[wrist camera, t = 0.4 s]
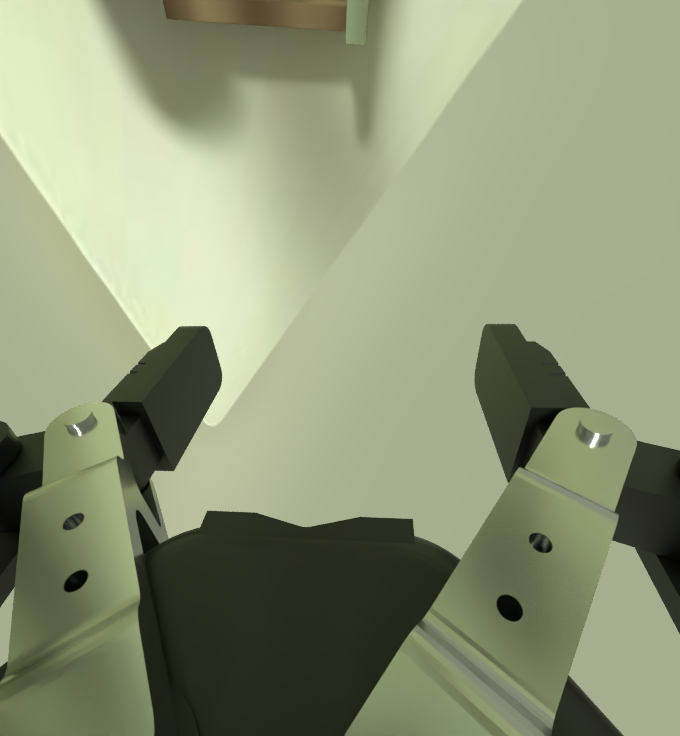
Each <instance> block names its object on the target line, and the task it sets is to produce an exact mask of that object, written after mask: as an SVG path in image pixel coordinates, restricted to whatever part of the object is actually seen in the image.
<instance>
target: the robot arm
mask: <svg viewBox="0 0 680 736" xmlns="http://www.w3.org/2000/svg"><path fill="white" fill-rule="evenodd" d="M221 382H222V372H221V367H220V363H219V360H218V357H217V353H216V350H215V346H214V343H213V339H212V336H211V333H210V330H209V329H208V328H207V327H206V326H181V327H179V328H177V329H176V331H175V332H174V333H173V334H172V335H171V336H170V337H169V338H168V339H167V341H166V342H165V343H162V344H160V345H159V346H157V347H155V348H154V349H152V350H151V351H149V352H148V353H147V354H146V355H145V356H144V357H143V358H142V359H141V360H140V361H139V362H138V365H136V366H135V367H134V368H133V369H132V370H131V371H130V374H127V375H126V376H125V377H124V378H123V380H122V381H121V382H120V383H119V384H118V385H117V386H116V387H115V388H114V389H113V390H112V391H111V392H110V393H109V394H108V395H107V397H106V398H105V399H104V400H103V401H102V402H92V403H86V404H83V405H79V406H77V407H74V408H72V409H70V410H68V411H66V412H64V413H62V414H61V415H60V416H58V417H57V418H55V419H54V420H53V421H52V422H51V423H50V424H49V426H48V427H47V429H46V431H43V432H39V433H34V434H29V435H24V436H19V437H17V436H16V435H15V434H14V432H13V431H12V430H11V428H10V427H9V426H8V425H7V424H6V423H5V422H1V421H0V607H1V605H2V604H3V603H4V601H5V600H6V598H7V597H8V595H9V594H10V592H11V591H12V590H13V588H14V587H15V589H14V600H13V611H12V621H11V632H10V643H9V654H8V662H6V663H5V664H4V665H2V666H1V667H0V736H623V735H622V734H621V732H620V731H619V730H618V729H617V728H616V727H615V726H614V725H613V724H612V723H611V721H610V720H609V719H608V718H607V717H606V716H605V715H604V714H603V713H602V712H601V710H600V709H599V708H598V707H597V706H596V705H595V704H594V703H593V702H592V701H591V700H590V699H589V697H588V696H587V695H586V694H585V693H584V692H583V691H582V690H581V688H580V687H579V686H578V685H577V684H576V683H575V682H574V681H573V680H572V679H571V677H570V676H569V675H568V674H569V671H570V668H571V665H572V662H573V659H574V656H575V653H576V650H577V646H578V643H579V640H580V637H581V634H582V631H583V628H584V625H585V622H586V619H587V616H588V612H589V609H590V606H591V603H592V600H593V597H594V594H595V591H596V588H597V585H598V582H599V578H600V575H601V572H602V569H603V566H604V563H605V560H606V557H607V554H608V551H609V547H610V544H611V541H612V540H613V541H616V542H619V543H623V544H626V545H629V546H632V547H635V549H636V551H637V553H638V555H639V556H640V558H641V560H642V562H643V564H644V566H645V568H646V570H647V572H648V574H649V576H650V578H651V580H652V582H653V583H654V585H655V587H656V589H657V591H658V593H659V595H660V597H661V599H662V601H663V603H664V604H665V607H666V608H667V610H668V612H669V614H670V616H671V618H672V620H673V622H674V624H675V626H676V628H677V630H678V632H679V633H680V451H679V450H675V449H670V448H666V447H662V446H657V445H653V444H648V443H644V442H640V441H637V440H636V437H635V435H634V434H633V432H632V431H631V430H630V429H629V428H628V427H627V426H626V425H625V424H624V423H623V422H621V421H620V420H618V419H617V418H615V417H613V416H611V415H609V414H606V413H604V412H601V411H598V410H594V409H590V407H589V406H588V405H587V403H586V402H585V400H584V399H583V398H582V396H581V395H580V393H579V392H578V391H577V389H576V388H575V386H574V385H573V384H572V382H571V381H570V380H569V378H568V377H567V376H565V372H564V371H563V369H562V368H561V367H560V366H558V362H557V361H556V360H555V358H554V357H553V355H552V354H551V352H549V351H548V350H547V349H545V348H544V347H542V346H541V345H539V344H538V343H536V342H527V341H526V340H525V338H524V337H523V335H522V334H521V332H520V330H519V329H518V327H517V326H516V325H515V324H486V325H485V326H484V329H483V332H482V337H481V342H480V348H479V353H478V358H477V363H476V369H475V389H476V393H477V396H478V398H479V401H480V404H481V407H482V410H483V413H484V415H485V419H486V421H487V424H488V427H489V430H490V433H491V436H492V438H493V441H494V444H495V447H496V450H497V453H498V456H499V458H500V461H501V464H502V467H503V470H504V473H505V476H506V478H507V481H508V482H509V484H508V485H507V487H506V488H505V490H504V492H503V493H502V495H501V496H500V498H499V500H498V501H497V503H496V504H495V506H494V507H493V509H492V511H491V512H490V514H489V515H488V517H487V519H486V520H485V522H484V523H483V525H482V527H481V528H480V530H479V532H478V533H477V535H476V536H475V538H474V539H473V541H472V543H471V544H470V546H469V547H468V549H467V551H466V552H465V554H464V555H463V557H462V559H461V560H460V559H458V558H457V557H456V556H454V555H453V554H452V553H450V552H449V551H447V550H445V549H444V548H442V547H440V546H438V545H436V544H434V543H432V542H429V541H427V540H425V539H422V538H419V537H416V536H414V529H413V519H395V518H371V517H370V518H369V517H358V518H353V519H348V520H343V521H338V522H333V523H328V524H323V525H317V526H312V527H301V526H297V525H294V524H290V523H287V522H284V521H281V520H277V519H274V518H271V517H268V516H264V515H261V514H258V513H248V512H223V511H207V513H206V515H205V518H204V520H203V522H202V525H201V527H200V528H196V529H193V530H190V531H187V532H184V533H181V534H179V535H176V536H174V537H172V538H170V539H169V538H168V535H167V531H166V528H165V524H164V520H163V517H162V513H161V509H160V506H159V502H158V498H157V494H156V491H155V487H154V484H153V482H152V480H151V476H152V474H153V473H154V471H155V470H156V471H174V470H175V468H176V466H177V464H178V463H179V461H180V459H181V457H182V455H183V454H184V452H185V450H186V448H187V446H188V445H189V443H190V441H191V439H192V438H193V436H194V434H195V432H196V430H197V428H198V427H199V425H200V423H201V421H202V420H203V418H204V416H205V414H206V412H207V411H208V409H209V407H210V405H211V404H212V402H213V400H214V398H215V396H216V395H217V393H218V391H219V389H220V386H221Z"/></svg>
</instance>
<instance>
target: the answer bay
mask: <svg viewBox="0 0 680 736" xmlns="http://www.w3.org/2000/svg"><path fill="white" fill-rule="evenodd" d="M163 4H164V8H165V12H166V17H167V19H175V20H189V21H203V22H218V23H232V24H247V25H261V26H275V27H290V28H304V29H319V30H333V31H346V37H345V44H360V45H365V42H366V29H367V17H368V4H369V0H163Z"/></svg>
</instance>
